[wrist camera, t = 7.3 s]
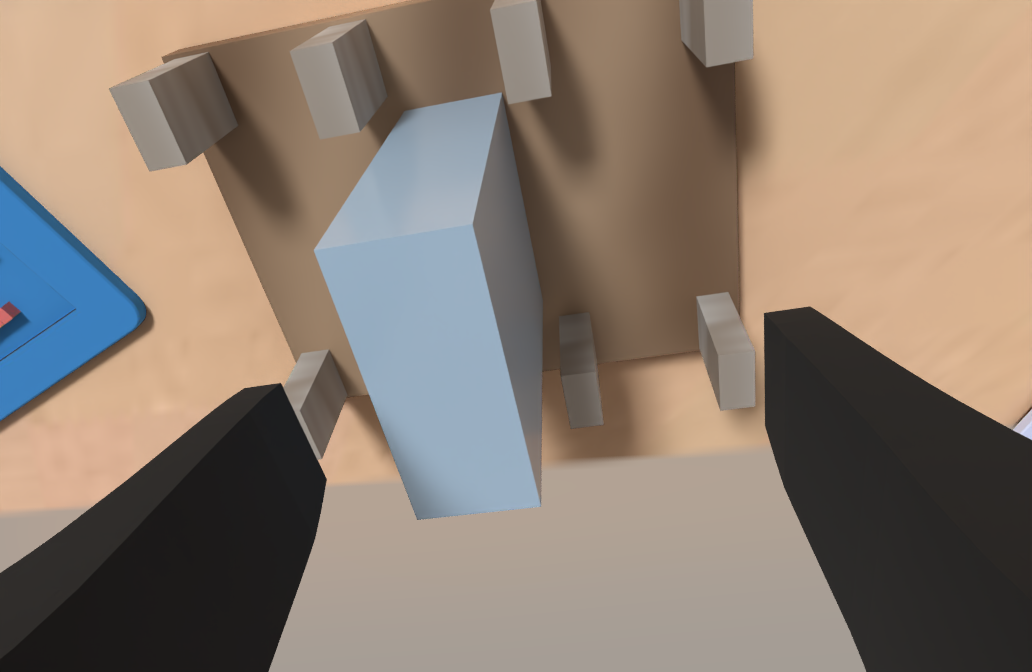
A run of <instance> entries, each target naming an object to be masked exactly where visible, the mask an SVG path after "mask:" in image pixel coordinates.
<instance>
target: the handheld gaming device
mask: <svg viewBox="0 0 1032 672" xmlns="http://www.w3.org/2000/svg"><path fill="white" fill-rule="evenodd" d="M145 317H146V307H145V305H144V303H143V301H142V300H141V299H140V297H139V296H138V295H137V294H136V293H135V292H134V291H133V290H131V289H130V288H129V287H128V286H127V285H126V284H125V283H124V282H123V281H122V280H121V279H120V278H119V277H118V276H117V275H115V274H114V273H113V272H112V271H111V270H110V269H109V268H108V267H107V266H106V265H105V264H104V263H103V262H102V261H101V260H99V259H98V258H97V257H96V256H95V255H94V254H93V253H92V252H91V251H90V250H89V249H88V248H87V247H86V246H85V245H83V244H82V243H81V242H80V241H79V240H78V239H77V238H76V237H75V236H74V235H73V234H72V233H71V232H70V231H69V230H68V229H66V228H65V227H64V226H63V225H62V224H61V223H60V222H59V221H58V220H57V219H56V218H55V217H54V216H53V215H52V214H50V213H49V212H48V211H47V210H46V209H45V208H44V207H43V206H42V205H41V204H40V203H39V202H38V201H37V200H36V199H34V198H33V197H32V196H31V195H30V194H29V193H28V192H27V191H26V190H25V189H24V188H23V187H22V186H21V185H20V184H19V183H17V182H16V181H15V180H14V179H13V178H12V177H11V176H10V175H9V174H8V173H7V172H6V171H5V170H4V169H3V168H1V167H0V421H1V420H3V419H4V418H6V417H7V416H9V415H10V414H12V413H13V412H15V411H16V410H17V409H19V408H20V407H22V406H23V405H25V404H26V403H28V402H29V401H31V400H32V399H34V398H35V397H37V396H38V395H40V394H41V393H42V392H44V391H45V390H47V389H48V388H50V387H51V386H53V385H54V384H56V383H57V382H59V381H60V380H62V379H63V378H65V377H66V376H67V375H69V374H70V373H72V372H73V371H75V370H76V369H78V368H79V367H81V366H82V365H84V364H85V363H87V362H88V361H89V360H91V359H92V358H94V357H95V356H97V355H98V354H100V353H101V352H103V351H104V350H106V349H107V348H109V347H110V346H112V345H113V344H114V343H116V342H117V341H119V340H120V339H122V338H123V337H125V336H126V335H128V334H129V333H131V332H132V331H134V330H135V329H136V328H137V327H138V326H139V325H140V324H141V323H142V322H143V321H144V319H145Z"/></svg>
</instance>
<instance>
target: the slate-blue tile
mask: <svg viewBox="0 0 1032 672" xmlns="http://www.w3.org/2000/svg"><path fill="white" fill-rule="evenodd" d="M314 253H315V255H316V258H317V260H318V263H319V266H320V268H321V271H322V273H323V276H324V279H325V281H326V284H327V286H328V289H329V292H330V294H331V297H332V299H333V302H334V305H335V307H336V310H337V312H338V315H339V318H340V320H341V323H342V325H343V328H344V331H345V333H346V336H347V338H348V341H349V344H350V346H351V349H352V351H353V354H354V357H355V359H356V362H357V364H358V367H359V370H360V372H361V375H362V377H363V380H364V383H365V385H366V388H367V390H368V393H369V396H370V398H371V401H372V403H373V406H374V409H375V411H376V414H377V416H378V419H379V422H380V424H381V427H382V429H383V432H384V435H385V437H386V440H387V442H388V445H389V448H390V450H391V453H392V455H393V458H394V461H395V463H396V466H397V468H398V471H399V474H400V476H401V479H402V481H403V484H404V486H405V489H406V492H407V494H408V497H409V499H410V502H411V505H412V507H413V510H414V512H415V515H416V517H417V520H421V519H430V518H439V517H448V516H458V515H467V514H476V513H486V512H495V511H504V510H514V509H523V508H533V507H540V506H541V461H542V352H543V299H542V294H541V288H540V283H539V278H538V273H537V268H536V263H535V258H534V253H533V248H532V243H531V238H530V232H529V227H528V222H527V217H526V212H525V207H524V202H523V197H522V192H521V187H520V182H519V177H518V171H517V166H516V161H515V156H514V151H513V146H512V141H511V136H510V131H509V126H508V121H507V115H506V110H505V105H504V100H503V95H502V92H501V93H496V94H491V95H486V96H480V97H475V98H470V99H465V100H459V101H454V102H449V103H444V104H438V105H433V106H428V107H423V108H417V109H412V110H407V111H404V112H403V114H402V115H401V117H400V119H399V120H398V122H397V123H396V125H395V126H394V128H393V129H392V131H391V132H390V134H389V135H388V137H387V139H386V140H385V142H384V143H383V145H382V146H381V148H380V149H379V151H378V152H377V154H376V155H375V157H374V158H373V160H372V162H371V163H370V165H369V166H368V168H367V169H366V171H365V172H364V174H363V175H362V177H361V178H360V180H359V182H358V183H357V185H356V186H355V188H354V189H353V191H352V192H351V194H350V195H349V197H348V198H347V200H346V201H345V203H344V205H343V206H342V208H341V209H340V211H339V212H338V214H337V215H336V217H335V218H334V220H333V221H332V223H331V225H330V226H329V228H328V229H327V231H326V232H325V234H324V235H323V237H322V238H321V240H320V241H319V243H318V244H317V246H316V248H315V249H314Z"/></svg>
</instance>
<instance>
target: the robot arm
mask: <svg viewBox="0 0 1032 672" xmlns="http://www.w3.org/2000/svg"><path fill="white" fill-rule="evenodd" d="M764 353H765V427H766V430H767V434H768V437H769V440H770V443H771V447H772V450H773V453H774V456H775V460H776V463H777V466H778V469H779V473H780V476H781V479H782V482H783V485H784V488H785V490H786V492H787V494H788V497H789V499H790V501H791V504H792V506H793V508H794V510H795V512H796V514H797V516H798V519H799V521H800V523H801V525H802V528H803V530H804V532H805V534H806V537H807V539H808V541H809V543H810V545H811V547H812V550H813V552H814V554H815V556H816V558H817V560H818V563H819V565H820V567H821V569H822V571H823V573H824V575H825V578H826V580H827V582H828V584H829V586H830V589H831V590H832V593H833V595H834V597H835V599H836V601H837V604H838V606H839V608H840V610H841V612H842V614H843V617H844V619H845V621H846V623H847V625H848V628H849V630H850V632H851V634H852V637H853V639H854V642H855V644H856V646H857V649H858V651H859V654H860V656H861V659H862V661H863V664H864V666H865V669H866V672H1032V409H1031V410H1030V412H1029V413H1028V414H1027V415H1026V416H1025V417H1024V418H1023V419H1022V420H1021V421H1020V422H1019V423H1018V424H1017V425H1016V427H1015V428H1014V429H1013V430H1011V429H1009V428H1007V427H1006V426H1004V425H1002V424H1000V423H998V422H996V421H995V420H993V419H991V418H989V417H987V416H985V415H984V414H982V413H980V412H978V411H976V410H975V409H973V408H971V407H969V406H967V405H965V404H964V403H962V402H960V401H958V400H956V399H955V398H953V397H951V396H950V395H948V394H946V393H944V392H943V391H941V390H939V389H938V388H936V387H934V386H932V385H931V384H929V383H928V382H926V381H924V380H923V379H921V378H919V377H918V376H916V375H914V374H913V373H911V372H910V371H908V370H906V369H905V368H903V367H902V366H900V365H898V364H897V363H895V362H894V361H892V360H891V359H889V358H888V357H886V356H884V355H883V354H881V353H880V352H878V351H877V350H875V349H874V348H872V347H871V346H869V345H868V344H866V343H865V342H863V341H862V340H860V339H859V338H857V337H856V336H854V335H853V334H851V333H850V332H848V331H847V330H845V329H844V328H842V327H841V326H839V325H838V324H836V323H835V322H833V321H832V320H830V319H829V318H827V317H826V316H824V315H823V314H821V313H820V312H818V311H816V310H815V309H813V308H812V307H803V308H796V309H790V310H783V311H776V312H769V313H764ZM326 481H327V479H326V477H325V475H324V473H323V471H322V469H321V466H320V464H319V462H318V460H317V458H316V456H315V454H314V452H313V450H312V447H311V445H310V443H309V441H308V439H307V437H306V435H305V433H304V431H303V428H302V426H301V424H300V422H299V420H298V418H297V416H296V414H295V412H294V410H293V407H292V405H291V403H290V401H289V399H288V397H287V395H286V393H285V391H284V388H283V386H282V384H281V383H278V384H271V385H264V386H257V387H250V388H244V389H243V390H241V391H240V392H238V393H237V394H235V395H234V396H232V397H231V398H229V399H228V400H226V401H225V402H224V403H222V404H221V405H220V406H218V407H217V408H216V409H214V410H213V411H212V412H211V413H209V414H208V415H207V416H206V417H204V418H203V419H202V420H201V421H199V422H198V423H197V424H196V425H194V426H193V427H192V428H191V429H189V430H188V431H187V432H186V433H184V434H183V435H182V436H181V437H180V438H178V439H177V440H176V441H175V442H173V443H172V444H171V445H170V446H169V447H167V448H166V449H165V450H164V451H162V452H161V453H160V454H159V455H157V456H156V457H155V458H154V459H153V460H151V461H150V462H149V463H148V464H146V465H145V466H144V467H143V468H141V469H140V470H139V471H138V472H137V473H135V474H134V475H133V476H132V477H130V478H129V479H128V480H127V481H125V482H124V483H123V484H121V485H120V486H119V487H118V488H116V489H115V490H114V491H112V492H111V493H110V494H108V495H107V496H106V497H105V498H103V499H102V500H101V501H99V502H98V503H97V504H95V505H94V506H93V507H91V508H90V509H89V510H88V511H86V512H85V513H84V514H82V515H81V516H80V517H79V518H77V519H76V520H75V521H73V522H72V523H71V524H69V525H68V526H67V527H65V528H64V529H63V530H62V531H60V532H59V533H57V534H56V535H55V536H53V537H52V538H50V539H49V540H48V541H46V542H45V543H44V544H42V545H41V546H39V547H38V548H36V549H35V550H34V551H32V552H31V553H30V554H28V555H26V556H25V557H24V558H22V559H21V560H19V561H18V562H16V563H15V564H13V565H12V566H10V567H9V568H7V569H6V570H4V571H3V572H1V573H0V672H268V671H269V668H270V665H271V663H272V660H273V657H274V654H275V652H276V649H277V646H278V643H279V640H280V638H281V634H282V632H283V629H284V626H285V624H286V621H287V618H288V615H289V612H290V609H291V607H292V604H293V601H294V598H295V596H296V592H297V590H298V587H299V584H300V581H301V578H302V576H303V573H304V570H305V567H306V564H307V561H308V558H309V555H310V552H311V549H312V546H313V543H314V540H315V536H316V532H317V527H318V523H319V518H320V514H321V508H322V503H323V497H324V492H325V486H326Z"/></svg>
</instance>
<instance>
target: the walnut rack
mask: <svg viewBox="0 0 1032 672" xmlns="http://www.w3.org/2000/svg"><path fill="white" fill-rule="evenodd" d="M749 59H753V0H411V1H406V2H401V3H397V4H392V5H387V6H383V7H378V8H373V9H368V10H364V11H359V12H354V13H349V14H345V15H340V16H335V17H331V18H326V19H321V20H316V21H312V22H307V23H302V24H297V25H293V26H288V27H283V28H279V29H274V30H269V31H264V32H260V33H255V34H250V35H245V36H241V37H236V38H231V39H227V40H222V41H217V42H212V43H208V44H203V45H198V46H193V47H189V48H184V49H180V50H177V51H175V52H173V53H170V54H168V55H165V56H163V57H162V60H163V62H164V64H163V65H160V66H158V67H156V68H154V69H151V70H149V71H147V72H145V73H142V74H140V75H138V76H136V77H134V78H131V79H129V80H127V81H125V82H122V83H120V84H118V85H116V86H113V87H111V88H109V90H110V92H111V94H112V96H113V98H114V100H115V102H116V104H117V106H118V108H119V110H120V113H121V115H122V117H123V119H124V121H125V123H126V125H127V127H128V129H129V131H130V133H131V135H132V137H133V139H134V141H135V143H136V145H137V147H138V149H139V151H140V153H141V155H142V157H143V159H144V161H145V163H146V165H147V167H148V170H149V171H155V170H160V169H165V168H171V167H176V166H181V165H187V164H188V163H189V162H191V161H192V160H193V159H195V158H196V157H197V156H199V155H200V154H201V153H204V155H205V157H206V159H207V162H208V164H209V166H210V168H211V171H212V173H213V175H214V178H215V180H216V182H217V184H218V187H219V189H220V191H221V193H222V196H223V198H224V200H225V202H226V205H227V207H228V209H229V212H230V214H231V216H232V218H233V221H234V223H235V225H236V227H237V230H238V232H239V234H240V236H241V239H242V241H243V243H244V246H245V248H246V250H247V252H248V255H249V257H250V259H251V261H252V264H253V266H254V268H255V270H256V273H257V275H258V277H259V280H260V282H261V284H262V286H263V289H264V291H265V293H266V295H267V298H268V300H269V302H270V304H271V307H272V309H273V311H274V313H275V316H276V318H277V320H278V323H279V325H280V327H281V329H282V332H283V334H284V336H285V338H286V341H287V343H288V345H289V347H290V350H291V352H292V354H293V357H294V359H295V361H296V365H295V367H294V369H293V370H292V372H291V374H290V376H289V378H288V380H287V382H286V384H285V385H284V387H283V388H284V391H285V393H286V395H287V397H288V399H289V401H290V403H291V405H292V407H293V410H294V412H295V414H296V416H297V418H298V420H299V422H300V424H301V426H302V428H303V431H304V433H305V435H306V437H307V439H308V441H309V443H310V445H311V447H312V450H313V452H314V454H315V456H316V458H317V460H318V459H322V458H323V455H324V453H325V450H326V447H327V445H328V442H329V440H330V437H331V435H332V432H333V430H334V427H335V425H336V422H337V420H338V417H339V415H340V412H341V410H342V407H343V405H344V402H345V400H346V398H347V397H354V396H362V395H369V393H368V390H367V388H366V385H365V383H364V380H363V377H362V375H361V372H360V370H359V367H358V364H357V362H356V359H355V357H354V354H353V351H352V349H351V346H350V344H349V341H348V338H347V336H346V333H345V331H344V328H343V325H342V323H341V320H340V318H339V315H338V312H337V310H336V307H335V305H334V302H333V299H332V297H331V294H330V292H329V289H328V286H327V284H326V281H325V279H324V276H323V273H322V271H321V268H320V266H319V263H318V260H317V258H316V255H315V253H314V249H315V248H316V246H317V244H318V243H319V241H320V240H321V238H322V237H323V235H324V234H325V232H326V231H327V229H328V228H329V226H330V225H331V223H332V221H333V220H334V218H335V217H336V215H337V214H338V212H339V211H340V209H341V208H342V206H343V205H344V203H345V201H346V200H347V198H348V197H349V195H350V194H351V192H352V191H353V189H354V188H355V186H356V185H357V183H358V182H359V180H360V178H361V177H362V175H363V174H364V172H365V171H366V169H367V168H368V166H369V165H370V163H371V162H372V160H373V158H374V157H375V155H376V154H377V152H378V151H379V149H380V148H381V146H382V145H383V143H384V142H385V140H386V139H387V137H388V135H389V134H390V132H391V131H392V129H393V128H394V126H395V125H396V123H397V122H398V120H399V119H400V117H401V115H402V114H403V112H404V111H407V110H412V109H417V108H423V107H428V106H433V105H438V104H444V103H449V102H454V101H459V100H465V99H470V98H475V97H480V96H486V95H491V94H496V93H501V92H502V95H503V100H504V105H505V110H506V115H507V121H508V126H509V131H510V136H511V141H512V146H513V151H514V156H515V161H516V166H517V171H518V177H519V182H520V187H521V192H522V197H523V202H524V207H525V212H526V217H527V222H528V227H529V232H530V238H531V243H532V248H533V253H534V258H535V263H536V268H537V273H538V278H539V283H540V288H541V294H542V299H543V352H542V371H549V370H557V369H560V370H561V380H562V386H563V391H564V396H565V401H566V406H567V412H568V417H569V422H570V427H571V429H574V428H582V427H590V426H599V425H604V423H603V413H602V404H601V395H600V385H599V376H598V367H597V364H602V363H609V362H617V361H625V360H632V359H640V358H647V357H655V356H662V355H670V354H677V353H685V352H692V351H701V354H702V357H703V360H704V363H705V366H706V369H707V372H708V375H709V378H710V381H711V384H712V387H713V390H714V393H715V396H716V399H717V402H718V405H719V408H720V411H722V410H731V409H739V408H747V407H755V350H754V347H753V345H752V343H751V341H750V339H749V336H748V334H747V332H746V330H745V328H744V325H743V323H742V321H741V319H740V313H739V263H738V213H737V163H736V113H735V63H734V62H738V61H743V60H749Z"/></svg>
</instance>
